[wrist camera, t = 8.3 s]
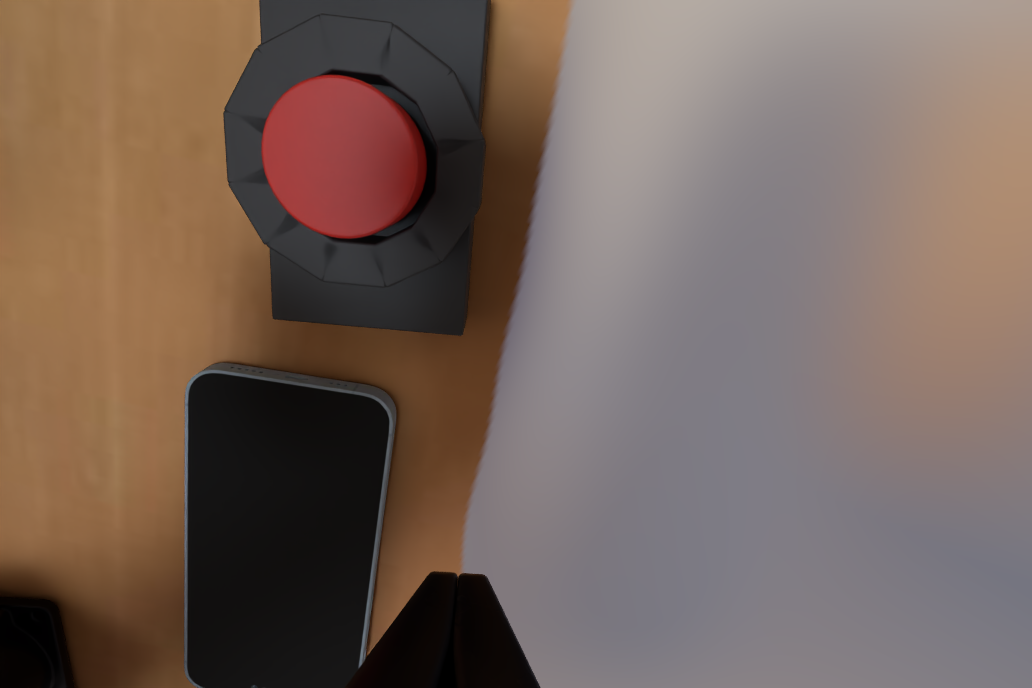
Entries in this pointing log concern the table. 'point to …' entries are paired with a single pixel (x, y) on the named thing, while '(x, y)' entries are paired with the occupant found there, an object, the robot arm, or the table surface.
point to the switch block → (447, 139)
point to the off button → (343, 157)
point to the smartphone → (281, 525)
